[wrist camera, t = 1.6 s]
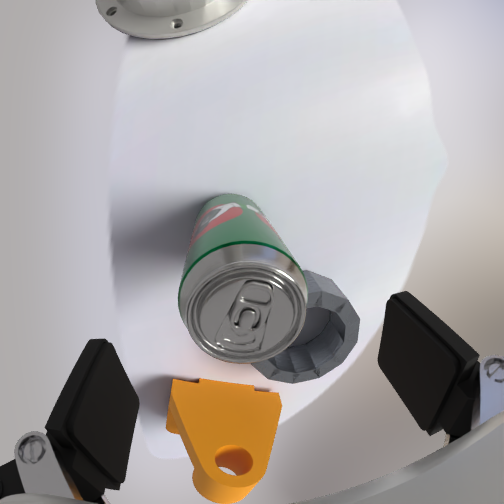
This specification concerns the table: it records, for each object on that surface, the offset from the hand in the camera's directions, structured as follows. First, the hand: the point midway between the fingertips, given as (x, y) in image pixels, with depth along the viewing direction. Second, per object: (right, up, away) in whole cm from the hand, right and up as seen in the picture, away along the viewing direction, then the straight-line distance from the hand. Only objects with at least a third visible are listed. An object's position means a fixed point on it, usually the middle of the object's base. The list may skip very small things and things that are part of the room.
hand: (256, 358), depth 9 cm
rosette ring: (+4, -2, +16) cm, 16 cm away
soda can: (-2, +5, +12) cm, 14 cm away
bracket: (-4, -13, +19) cm, 23 cm away
